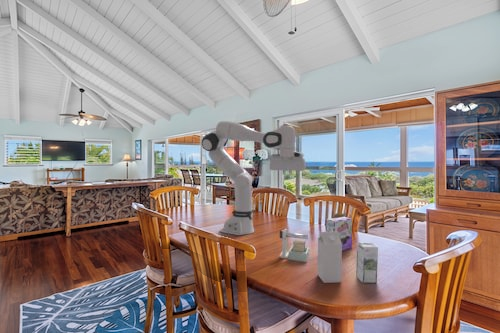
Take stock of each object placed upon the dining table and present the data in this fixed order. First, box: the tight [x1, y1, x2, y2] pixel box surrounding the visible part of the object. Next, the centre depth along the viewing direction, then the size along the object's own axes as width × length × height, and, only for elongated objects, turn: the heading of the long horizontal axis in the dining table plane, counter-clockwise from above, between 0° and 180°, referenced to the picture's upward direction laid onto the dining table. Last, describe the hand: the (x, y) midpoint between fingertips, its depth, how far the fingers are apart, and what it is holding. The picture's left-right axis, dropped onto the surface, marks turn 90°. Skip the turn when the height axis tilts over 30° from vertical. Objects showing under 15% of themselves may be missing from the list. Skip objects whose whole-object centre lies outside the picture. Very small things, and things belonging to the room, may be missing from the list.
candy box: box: [325, 216, 353, 251], centre depth 137 cm, size 14×6×16 cm, turn 117°
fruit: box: [331, 212, 347, 219], centre depth 158 cm, size 11×11×15 cm
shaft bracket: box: [278, 228, 310, 263], centre depth 125 cm, size 13×9×13 cm, turn 70°
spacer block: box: [292, 238, 306, 253], centre depth 124 cm, size 5×5×8 cm
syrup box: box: [355, 241, 379, 284], centre depth 101 cm, size 6×6×14 cm
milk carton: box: [317, 231, 343, 284], centre depth 102 cm, size 7×7×19 cm
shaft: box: [279, 229, 309, 240], centre depth 125 cm, size 13×4×4 cm, turn 70°
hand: (287, 178), depth 144 cm, fingers closed
